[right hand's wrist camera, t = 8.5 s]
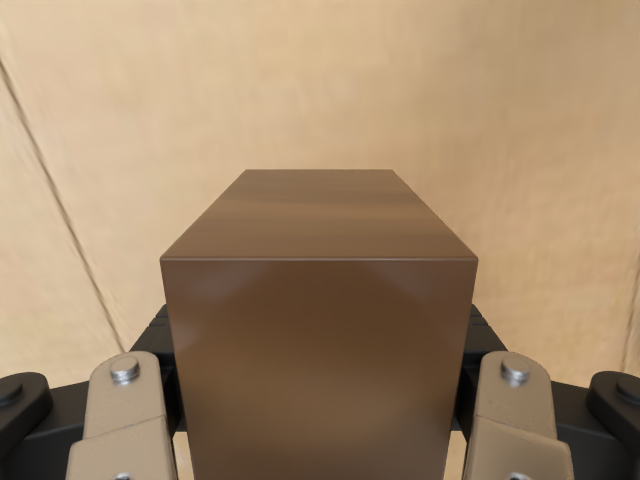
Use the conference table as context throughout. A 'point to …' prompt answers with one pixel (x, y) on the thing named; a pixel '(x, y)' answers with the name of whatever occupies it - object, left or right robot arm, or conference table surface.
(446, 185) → the conference table surface
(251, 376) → the bar
